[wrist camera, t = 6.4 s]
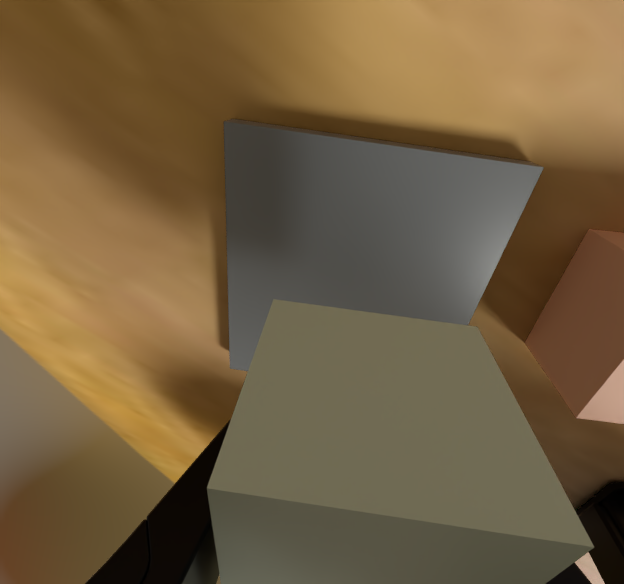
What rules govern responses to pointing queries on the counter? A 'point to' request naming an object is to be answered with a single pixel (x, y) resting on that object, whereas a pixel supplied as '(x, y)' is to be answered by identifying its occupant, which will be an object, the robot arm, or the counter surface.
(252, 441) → the sage brick
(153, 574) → the robot arm
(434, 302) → the baseplate
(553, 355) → the terracotta brick
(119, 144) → the counter surface
